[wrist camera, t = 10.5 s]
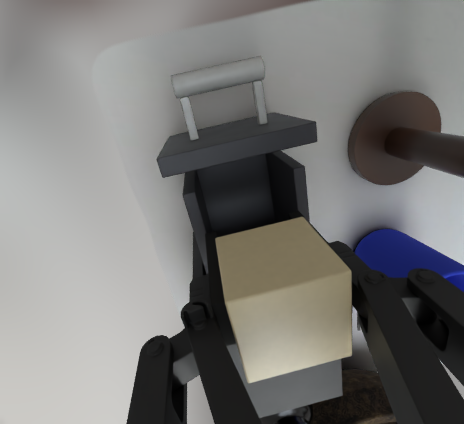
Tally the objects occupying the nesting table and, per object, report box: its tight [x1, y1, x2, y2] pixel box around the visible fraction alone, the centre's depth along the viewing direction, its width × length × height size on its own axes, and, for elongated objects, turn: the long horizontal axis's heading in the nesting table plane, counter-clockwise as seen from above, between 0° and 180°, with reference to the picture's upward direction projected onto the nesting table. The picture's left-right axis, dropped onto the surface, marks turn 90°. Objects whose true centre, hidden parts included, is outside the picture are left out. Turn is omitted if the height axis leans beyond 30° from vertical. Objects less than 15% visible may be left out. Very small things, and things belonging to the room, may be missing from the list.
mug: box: [355, 229, 464, 292], centre depth 29 cm, size 8×12×10 cm
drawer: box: [157, 56, 317, 274], centre depth 22 cm, size 19×10×9 cm, turn 11°
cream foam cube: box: [215, 217, 352, 383], centre depth 13 cm, size 5×5×5 cm
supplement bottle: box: [260, 404, 313, 424], centre depth 32 cm, size 7×7×12 cm
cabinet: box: [193, 232, 343, 418], centre depth 27 cm, size 16×11×11 cm
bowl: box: [310, 369, 398, 424], centre depth 39 cm, size 22×22×10 cm
